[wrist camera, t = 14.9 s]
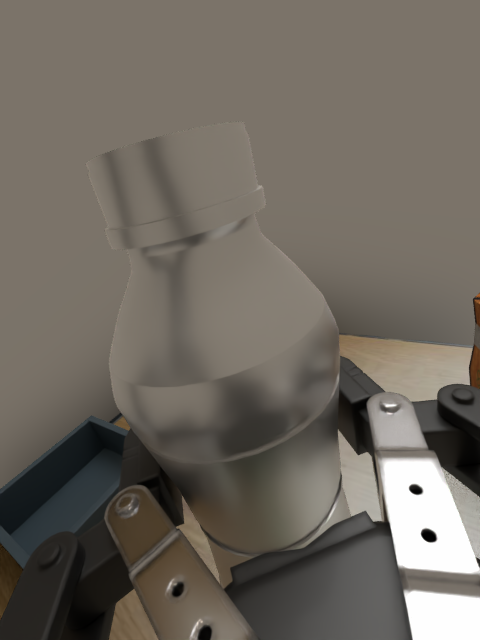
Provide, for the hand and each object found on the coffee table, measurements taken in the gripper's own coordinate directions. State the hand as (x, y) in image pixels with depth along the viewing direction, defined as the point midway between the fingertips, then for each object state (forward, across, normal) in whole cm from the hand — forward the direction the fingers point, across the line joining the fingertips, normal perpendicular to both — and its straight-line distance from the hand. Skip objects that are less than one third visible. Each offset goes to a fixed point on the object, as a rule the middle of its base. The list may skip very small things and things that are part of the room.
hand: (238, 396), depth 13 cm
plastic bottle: (-2, 0, +11) cm, 11 cm away
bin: (+19, +19, +22) cm, 35 cm away
